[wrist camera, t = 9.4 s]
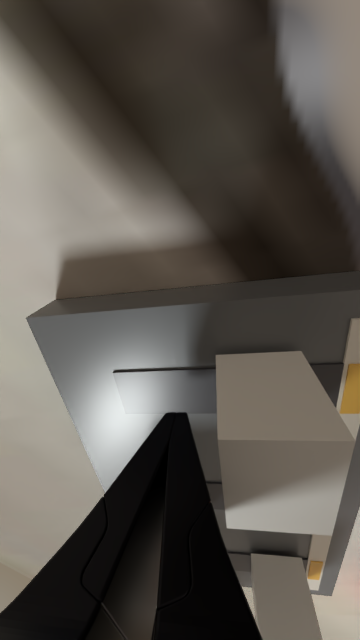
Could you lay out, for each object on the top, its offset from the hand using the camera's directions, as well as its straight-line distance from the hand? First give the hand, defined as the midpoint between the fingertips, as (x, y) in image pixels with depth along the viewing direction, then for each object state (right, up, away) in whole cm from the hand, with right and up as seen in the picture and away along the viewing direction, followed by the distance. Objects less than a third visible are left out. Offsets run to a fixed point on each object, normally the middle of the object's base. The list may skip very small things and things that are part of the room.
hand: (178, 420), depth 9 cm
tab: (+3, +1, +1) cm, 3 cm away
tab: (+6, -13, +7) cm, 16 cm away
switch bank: (+3, -5, +6) cm, 8 cm away
